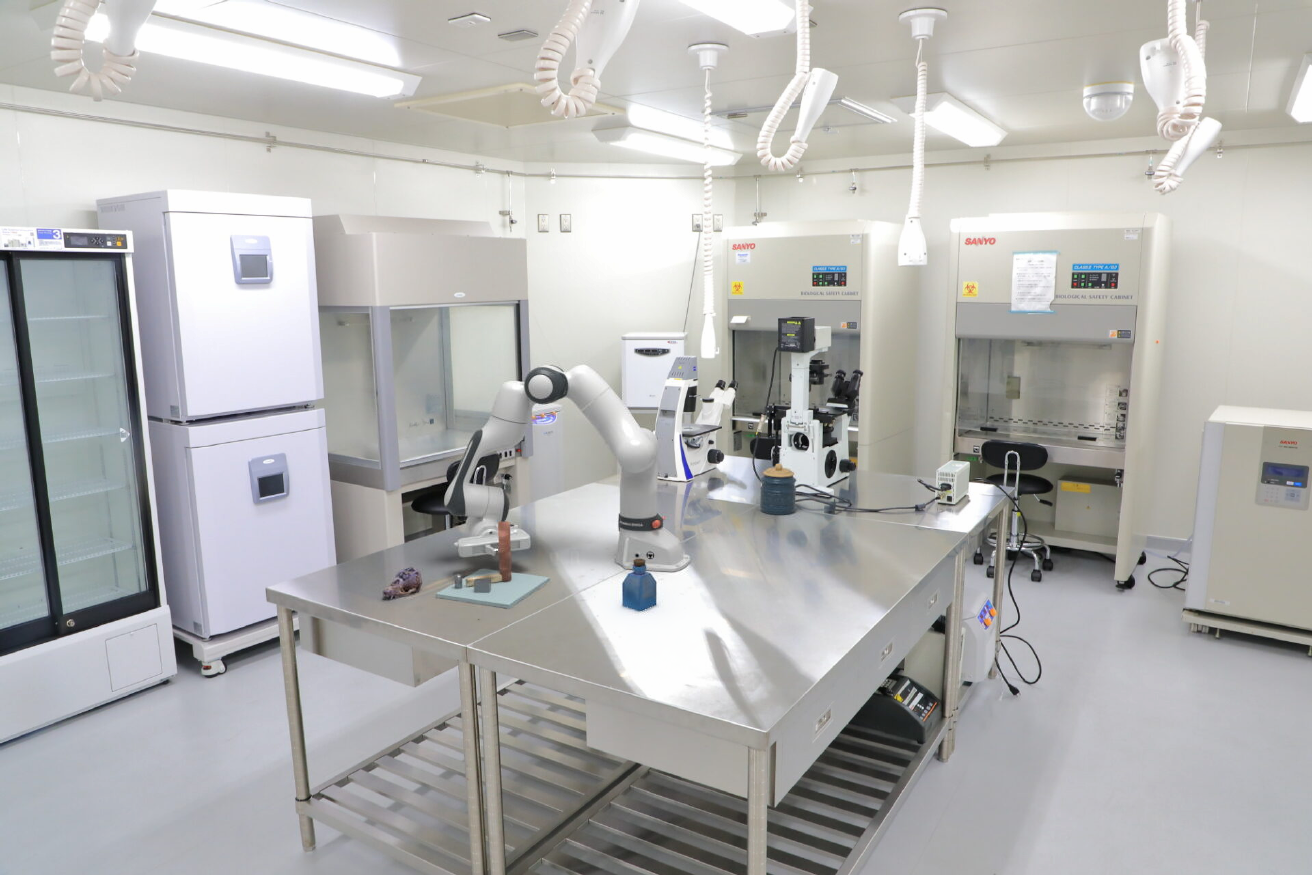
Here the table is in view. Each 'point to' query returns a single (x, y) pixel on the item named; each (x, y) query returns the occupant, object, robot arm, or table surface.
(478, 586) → the block
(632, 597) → the perfume bottle
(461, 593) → the board
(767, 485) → the canister
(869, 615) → the table surface
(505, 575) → the brown piece
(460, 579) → the hinge pin
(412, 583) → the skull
